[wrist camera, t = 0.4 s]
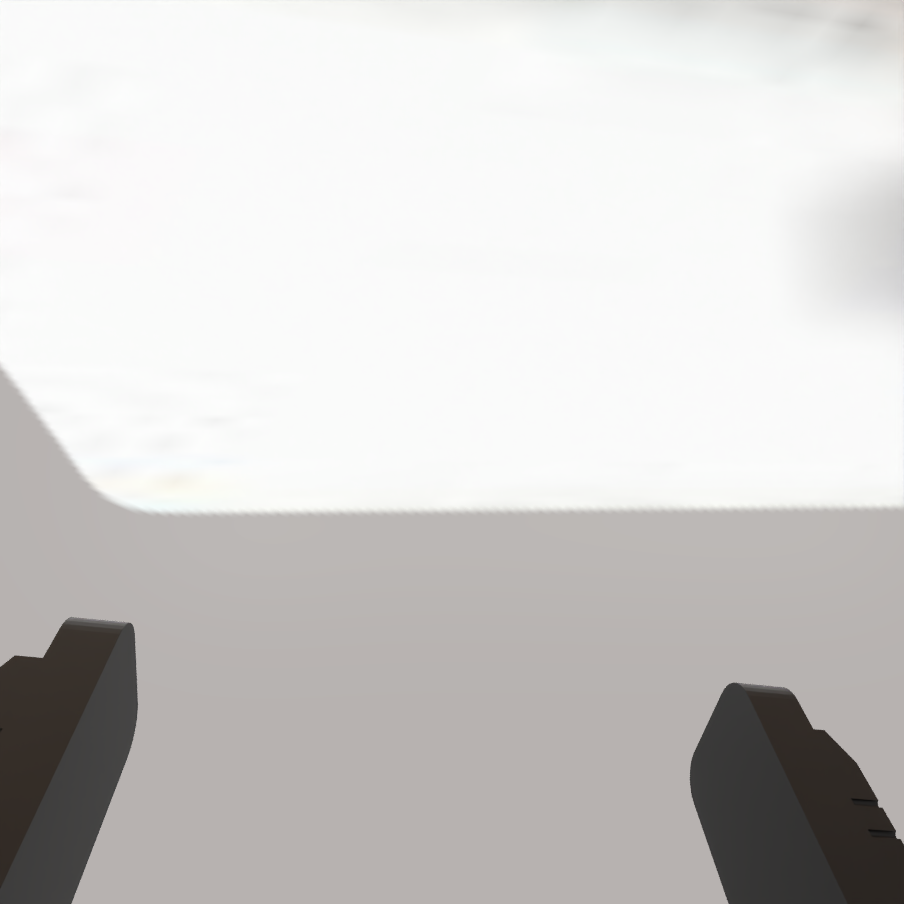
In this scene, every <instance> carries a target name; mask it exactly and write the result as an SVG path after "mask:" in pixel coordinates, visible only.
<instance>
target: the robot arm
mask: <svg viewBox="0 0 904 904" xmlns="http://www.w3.org/2000/svg"><path fill="white" fill-rule="evenodd" d="M137 710H138V701H137V676H136V653H135V633H134V627H133V625H132V624H131V623H125V622H115V621H105V620H95V619H84V618H74V617H70V618H68V619H67V620H66V621H65V622H64V623H63V624H62V626H61V628H60V629H59V631H58V633H57V634H56V636H55V638H54V640H53V642H52V644H51V645H50V647H49V649H48V650H47V652H46V654H45V655H44V657H43V658H36V657H25V656H14V657H12V658H11V659H10V660H9V661H7V662H6V663H5V664H4V665H2V666H1V667H0V904H71V903H72V900H73V898H74V895H75V893H76V890H77V887H78V885H79V882H80V880H81V877H82V875H83V872H84V869H85V867H86V864H87V861H88V859H89V856H90V854H91V851H92V848H93V846H94V843H95V841H96V838H97V835H98V833H99V830H100V828H101V825H102V822H103V820H104V817H105V815H106V812H107V809H108V806H109V804H110V801H111V799H112V796H113V794H114V791H115V789H116V786H117V783H118V781H119V778H120V776H121V773H122V770H123V768H124V765H125V763H126V760H127V757H128V754H129V751H130V748H131V744H132V741H133V736H134V732H135V726H136V720H137ZM690 785H691V793H692V798H693V801H694V805H695V808H696V811H697V813H698V816H699V819H700V822H701V825H702V828H703V831H704V834H705V836H706V839H707V842H708V845H709V848H710V851H711V854H712V857H713V859H714V863H715V865H716V868H717V871H718V874H719V877H720V880H721V883H722V886H723V889H724V892H725V895H726V897H727V900H728V903H729V904H904V844H903V843H902V841H901V839H897V838H896V836H895V832H896V830H895V829H894V827H893V825H892V824H891V822H890V820H889V818H888V817H887V815H886V813H885V812H884V810H883V808H879V807H878V799H877V798H876V796H875V794H874V792H873V791H872V789H871V787H870V785H869V784H868V782H867V780H866V779H865V777H864V775H863V773H862V772H861V770H860V768H859V766H858V765H857V763H856V762H855V761H854V760H853V759H852V758H851V757H850V756H849V755H848V754H847V753H846V752H845V751H844V750H843V749H842V748H841V747H840V746H839V745H838V744H837V743H836V742H835V741H834V740H833V739H832V738H831V737H830V736H829V735H828V734H827V733H826V732H825V730H815V729H813V728H812V726H811V724H810V722H809V721H808V719H807V717H806V715H805V713H804V711H803V710H802V708H801V706H800V704H799V702H798V700H797V699H796V697H795V695H794V694H793V693H792V692H791V691H790V690H788V689H786V688H784V687H783V688H782V687H773V686H763V685H751V684H742V683H731V684H729V685H728V686H726V688H725V689H724V691H723V693H722V694H721V696H720V699H719V701H718V703H717V705H716V707H715V709H714V711H713V713H712V716H711V718H710V720H709V722H708V724H707V726H706V728H705V731H704V733H703V735H702V737H701V739H700V741H699V743H698V746H697V748H696V750H695V752H694V755H693V757H692V761H691V769H690Z"/></svg>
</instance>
